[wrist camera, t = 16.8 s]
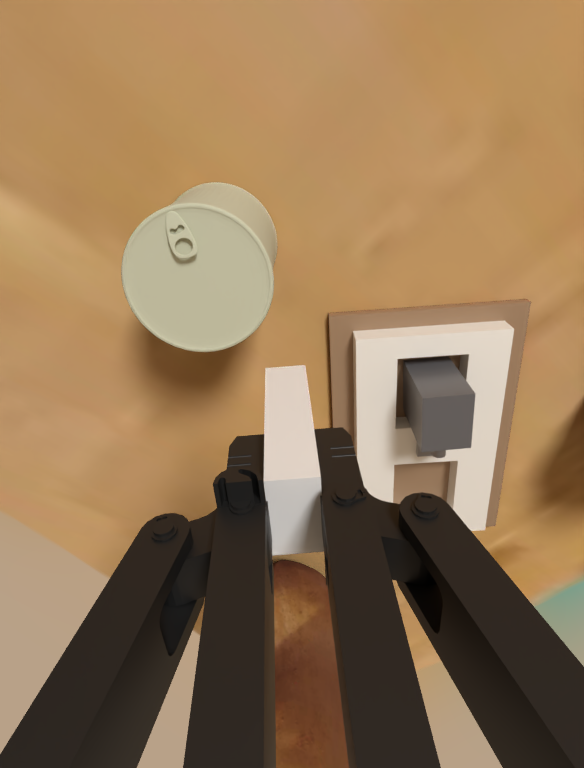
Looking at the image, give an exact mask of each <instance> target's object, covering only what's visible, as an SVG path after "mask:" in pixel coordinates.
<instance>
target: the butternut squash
mask: <svg viewBox="0 0 584 768" xmlns="http://www.w3.org/2000/svg"><path fill="white" fill-rule="evenodd" d="M273 569H274V632H275V718H276V768H349V764H348V755H347V747H346V738H345V730H344V721H343V713H342V705H341V696H340V688H339V679H338V671H337V662H336V654H335V645H334V637H333V629H332V620H331V612H330V603H329V595H328V586H327V585H326V578H325V577H324V576H323V575H322V574H321V573H319V572H318V571H316V570H315V569H312V568H310V567H308V566H306V565H304V564H301V563H298V562H294V561H289V560H280V561H278V562H275V563H273Z"/></svg>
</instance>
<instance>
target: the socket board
mask: <svg viewBox="0 0 584 768" xmlns="http://www.w3.org/2000/svg"><path fill="white" fill-rule="evenodd" d="M530 304H531V302H530V301H529V300H527V299H520V300H506V301H492V302H478V303H464V304H450V305H435V306H421V307H407V308H393V309H379V310H365V311H351V312H336V313H328V317H329V344H330V371H331V398H332V424H333V428H339V427H343V428H344V429H345V430H346V431H347V432H348V433H349V434H350V435H351V437H352V441H353V445H354V449H355V453H356V457H357V461H358V465H359V469H360V473H361V477H362V481H363V485H364V487H365V488H366V489H367V491H368V492H369V494H371V495H372V496H373V497H375V498H377V499H380V500H382V501H386V502H391V503H397V504H400V502H401V501H402V500H403V499H404V498H405V497H406V496H408V495H410V494H413V493H421V492H423V493H430V494H434V495H436V496H438V497H441V498H442V499H443V500H445V501H446V502H447V503H448V504H449V505H450V506H451V508H452V509H453V510H454V511H455V512H456V514H457V515H458V516H459V517H460V518H461V520H462V521H463V522H464V523H465V524H466V526H467V527H468V528H469V529H470V530H471V531H478V530H485V527H487V526H495V525H496V519H497V513H498V506H499V500H500V494H501V487H502V481H503V475H504V468H505V462H506V456H507V449H508V443H509V437H510V430H511V424H512V418H513V411H514V405H515V399H516V393H517V386H518V380H519V374H520V367H521V361H522V355H523V348H524V342H525V336H526V329H527V323H528V317H529V310H530ZM444 356H449V358H450V359H451V360H452V362H453V363H454V365H455V366H456V367H457V369H458V370H459V371H460V373H461V374H462V376H463V377H464V378H465V380H466V381H467V383H468V384H469V385H470V387H471V388H472V390H473V391H474V392H475V406H474V418H473V431H472V443H471V448H464V449H453V450H446V456H445V457H443V458H436V457H433V456H432V454H431V452H421V450H420V448H419V446H418V443H417V441H416V439H415V436H414V434H413V431H412V429H411V427H410V424H409V422H408V420H407V417H406V415H405V413H404V410H403V360H412V359H423V358H433V357H444Z"/></svg>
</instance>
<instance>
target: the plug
mask: <svg viewBox="0 0 584 768" xmlns="http://www.w3.org/2000/svg"><path fill="white" fill-rule="evenodd" d="M474 406H475V392H474V391H473V390H472V388H471V387H470V385H469V384H468V383H467V381H466V380H465V378H464V377H463V376H462V374H461V373H460V371H459V370H458V369H457V367H456V366H455V365H454V363H453V362H452V360H451V359H450V358H449V356H444V357H433V358H423V359H412V360H403V410H404V413H405V415H406V417H407V420H408V422H409V424H410V427H411V429H412V431H413V434H414V436H415V439H416V441H417V443H418V446H419V448H420V450H421V452H431V454H432V456H433V457H436V458H443V457H445V456H446V450H453V449H464V448H471V443H472V431H473V418H474Z"/></svg>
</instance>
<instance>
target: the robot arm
mask: <svg viewBox="0 0 584 768" xmlns="http://www.w3.org/2000/svg"><path fill="white" fill-rule="evenodd" d="M213 487H214V493H215V498H216V504H217V509H216V510H214V511H213V512H212V513H210V514H209V515H207V516H204V517H202V518H199V519H196V520H193V521H190V522H189V521H188V520H187V519H186V518H185V517H184V516H183V515H179V514H175V513H170V514H163V515H160V516H156V517H154V518H153V519H151V520H150V521H148V522H147V523H146V524H145V525H144V526H143V527H142V528H141V530H140V531H139V533H138V535H137V536H136V538H135V539H134V541H133V543H132V544H131V546H130V547H129V549H128V551H127V552H126V554H125V555H124V557H123V559H122V560H121V562H120V563H119V565H118V567H117V568H116V570H115V571H114V573H113V575H112V576H111V578H110V579H109V581H108V583H107V584H106V586H105V588H104V589H103V591H102V592H101V594H100V596H99V597H98V599H97V600H96V602H95V604H94V605H93V607H92V609H91V610H90V612H89V613H88V615H87V616H86V618H85V620H84V621H83V623H82V624H81V626H80V628H79V629H78V631H77V633H76V634H75V636H74V637H73V639H72V640H71V642H70V644H69V645H68V647H67V648H66V650H65V652H64V653H63V655H62V657H61V658H60V660H59V661H58V663H57V664H56V666H55V668H54V669H53V671H52V672H51V674H50V676H49V677H48V679H47V680H46V682H45V684H44V685H43V687H42V688H41V690H40V692H39V693H38V695H37V696H36V698H35V700H34V701H33V703H32V705H31V706H30V708H29V709H28V711H27V712H26V714H25V716H24V717H23V719H22V720H21V722H20V724H19V725H18V727H17V729H16V730H15V732H14V733H13V735H12V736H11V738H10V740H9V741H8V743H7V745H6V746H5V748H4V749H3V751H2V753H1V754H0V768H137V765H138V763H139V761H140V758H141V755H142V753H143V751H144V748H145V746H146V743H147V741H148V738H149V736H150V733H151V731H152V728H153V726H154V724H155V721H156V719H157V716H158V714H159V711H160V709H161V706H162V704H163V701H164V699H165V696H166V694H167V692H168V689H169V687H170V684H171V682H172V679H173V677H174V674H175V672H176V669H177V667H178V665H179V662H180V660H181V657H182V655H183V652H184V650H185V647H186V645H187V642H188V640H189V637H190V635H191V632H192V630H193V628H194V625H195V623H196V620H197V618H198V615H199V613H200V610H201V608H202V605H203V603H204V599H205V605H204V612H203V620H202V628H201V635H200V643H199V651H198V658H197V666H196V674H195V681H194V689H193V696H192V704H191V712H190V719H189V727H188V735H187V742H186V751H185V758H184V765H183V768H276V718H275V632H274V569H273V560H272V555H285V554H298V553H311V552H323V551H324V553H325V573H326V585H327V586H328V595H329V603H330V612H331V620H332V629H333V637H334V645H335V654H336V662H337V671H338V679H339V688H340V696H341V705H342V713H343V721H344V730H345V738H346V747H347V755H348V764H349V768H441V767H440V763H439V759H438V756H437V752H436V748H435V744H434V740H433V736H432V732H431V728H430V725H429V721H428V717H427V713H426V709H425V706H424V702H423V698H422V694H421V690H420V686H419V682H418V678H417V674H416V671H415V667H414V663H413V659H412V655H411V651H410V647H409V644H408V640H407V636H406V632H405V628H404V624H403V620H402V617H401V613H400V609H399V605H398V601H397V597H396V593H395V589H394V586H393V582H392V580H397V583H398V586H399V588H400V589H401V591H402V593H403V595H404V596H405V598H406V600H407V602H408V603H409V605H410V607H411V608H412V610H413V612H414V614H415V615H416V617H417V619H418V621H419V622H420V624H421V626H422V628H423V629H424V631H425V633H426V635H427V636H428V638H429V640H430V642H431V643H432V645H433V647H434V649H435V650H436V652H437V654H438V656H439V657H440V659H441V661H442V662H443V664H444V666H445V668H446V669H447V671H448V673H449V675H450V676H451V678H452V680H453V682H454V683H455V685H456V687H457V689H458V690H459V692H460V694H461V695H462V697H463V699H464V701H465V703H466V704H467V706H468V708H469V709H470V711H471V713H472V715H473V716H474V718H475V720H476V722H477V723H478V725H479V727H480V729H481V730H482V732H483V734H484V736H485V737H486V739H487V741H488V743H489V744H490V746H491V748H492V749H493V751H494V753H495V755H496V756H497V758H498V760H499V762H500V764H501V765H502V767H503V768H584V667H583V665H582V664H581V663H580V662H579V661H578V659H577V658H576V657H575V656H574V654H573V653H572V652H571V651H570V650H569V649H568V647H567V646H566V645H565V644H564V642H563V641H562V640H561V639H560V638H559V636H558V635H557V634H556V633H555V632H554V630H553V629H552V628H551V627H550V626H549V624H548V623H547V622H546V621H545V620H544V618H543V617H542V616H541V615H540V614H539V612H538V611H537V610H536V609H535V608H534V606H533V605H532V604H531V603H530V602H529V600H528V599H527V598H526V597H525V595H524V594H523V593H522V592H521V591H520V589H519V588H518V587H517V586H516V585H515V583H514V582H513V581H512V580H511V579H510V577H509V576H508V575H507V574H506V573H505V571H504V570H503V569H502V568H501V567H500V565H499V564H498V563H497V562H496V561H495V559H494V558H493V557H492V556H491V555H490V553H489V552H488V551H487V550H486V549H485V547H484V546H483V545H482V544H481V543H480V541H479V540H478V539H477V538H476V537H475V535H474V534H473V533H472V532H471V530H470V529H469V528H468V527H467V526H466V524H465V523H464V522H463V521H462V520H461V518H460V517H459V516H458V515H457V514H456V512H455V511H454V510H453V509H452V508H451V506H450V505H449V504H448V503H447V502H446V501H445V500H443V499H442V498H441V497H438V496H436V495H434V494H430V493H423V492H421V493H413V494H410V495H408V496H406V497H405V498H404V499H403V500H402V501H401V502H400V504H397V503H391V502H386V501H382V500H380V499H377V498H375V497H373V496H372V495H371V494H369V492H368V491H367V489H366V488H365V487H364V485H363V481H362V477H361V473H360V469H359V465H358V461H357V457H356V453H355V449H354V445H353V441H352V437H351V435H350V434H349V433H348V432H347V431H346V430H345V429H344V428H343V427H339V428H326V429H314V425H313V418H312V410H311V403H310V396H309V389H308V382H307V375H306V368H305V365H300V366H287V367H274V368H266V373H265V429H264V434H262V435H249V436H237V437H236V438H235V440H234V441H233V442H232V444H231V445H230V446H229V454H228V463H227V470H225V471H223V472H221V473H220V474H219V475H218V476H217V477H216V478H215V480H214V483H213ZM205 596H206V597H205Z"/></svg>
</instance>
